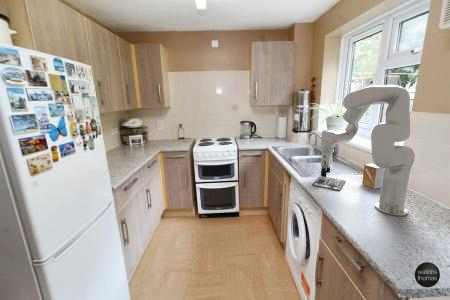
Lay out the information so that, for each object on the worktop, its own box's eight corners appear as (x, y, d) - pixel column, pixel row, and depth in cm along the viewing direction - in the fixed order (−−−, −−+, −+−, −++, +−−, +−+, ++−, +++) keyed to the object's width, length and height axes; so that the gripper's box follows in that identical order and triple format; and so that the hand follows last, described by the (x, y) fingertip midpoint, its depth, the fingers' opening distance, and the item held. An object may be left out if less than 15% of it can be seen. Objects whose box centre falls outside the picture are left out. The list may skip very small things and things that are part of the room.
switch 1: (325, 181, 138) (326, 174, 137) (320, 180, 140) (320, 173, 139) (326, 180, 141) (327, 173, 140) (321, 179, 143) (322, 172, 142)
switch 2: (335, 186, 130) (336, 179, 129) (329, 185, 132) (330, 178, 131) (336, 185, 132) (337, 177, 131) (331, 184, 134) (331, 176, 133)
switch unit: (339, 191, 126) (340, 187, 125) (311, 185, 135) (311, 182, 135) (345, 182, 139) (345, 178, 139) (319, 177, 149) (319, 174, 149)
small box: (361, 184, 135) (364, 164, 132) (369, 182, 137) (371, 163, 134) (374, 188, 128) (376, 167, 125) (382, 187, 129) (384, 166, 127)
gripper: (330, 152, 130) (328, 179, 133) (336, 147, 143) (334, 171, 147) (317, 151, 134) (315, 177, 138) (324, 146, 148) (322, 170, 151)
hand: (325, 174), depth 142 cm, fingers open, 9 cm apart
